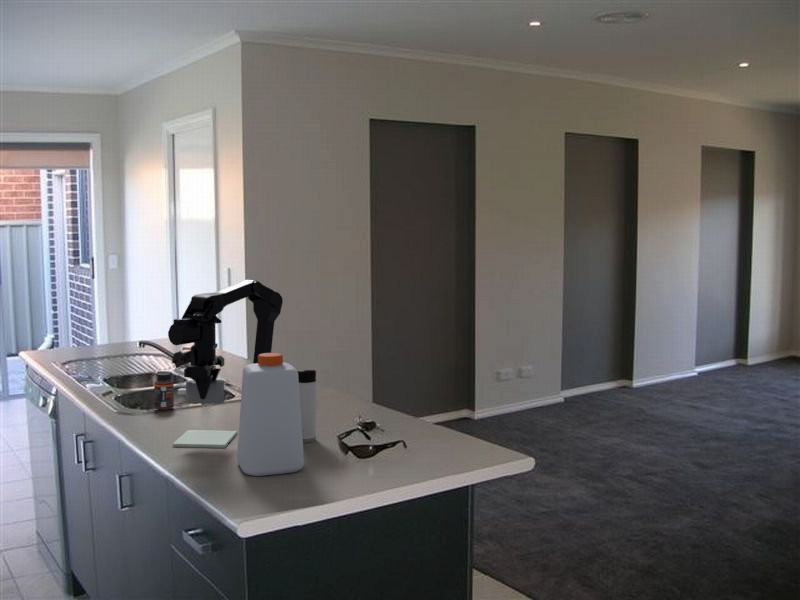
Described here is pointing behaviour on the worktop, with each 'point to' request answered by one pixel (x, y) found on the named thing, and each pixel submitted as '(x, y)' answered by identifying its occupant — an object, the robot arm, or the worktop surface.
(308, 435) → the travel mug
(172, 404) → the supplement bottle
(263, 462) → the plastic bottle
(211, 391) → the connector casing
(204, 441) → the sage board
